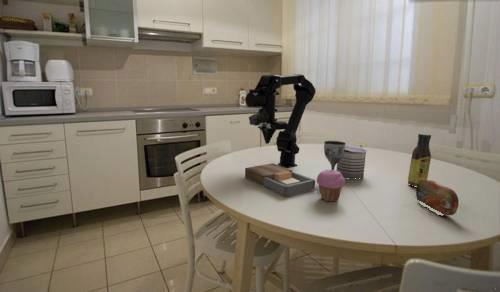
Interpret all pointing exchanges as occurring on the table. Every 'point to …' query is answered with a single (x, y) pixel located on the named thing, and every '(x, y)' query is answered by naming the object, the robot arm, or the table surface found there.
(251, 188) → the table surface
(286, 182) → the tile front
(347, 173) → the can
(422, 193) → the reddish-brown rounded block
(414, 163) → the sauce bottle
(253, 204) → the table surface
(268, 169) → the brown flat block
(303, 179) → the tray
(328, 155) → the wine glass
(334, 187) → the cupcake
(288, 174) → the tile back
